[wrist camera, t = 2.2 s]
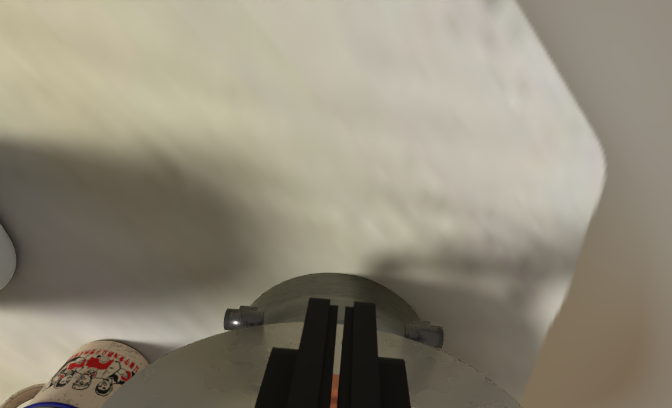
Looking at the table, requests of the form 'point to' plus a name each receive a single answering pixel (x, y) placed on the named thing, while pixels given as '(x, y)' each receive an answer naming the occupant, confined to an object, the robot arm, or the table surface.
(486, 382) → the lid
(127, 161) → the table surface
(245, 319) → the pot
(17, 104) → the table surface
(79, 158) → the table surface
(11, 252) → the plastic bottle
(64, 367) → the teacup with lid
